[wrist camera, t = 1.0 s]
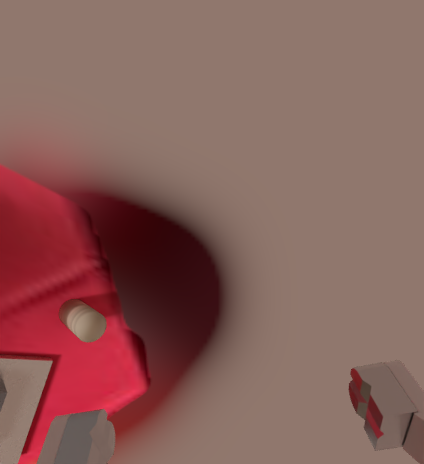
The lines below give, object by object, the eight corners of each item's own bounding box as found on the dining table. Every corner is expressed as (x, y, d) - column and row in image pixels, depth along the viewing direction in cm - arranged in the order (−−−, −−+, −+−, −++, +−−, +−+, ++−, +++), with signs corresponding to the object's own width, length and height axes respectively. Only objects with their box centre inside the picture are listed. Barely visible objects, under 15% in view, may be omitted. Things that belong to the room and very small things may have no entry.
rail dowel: (54, 323, 47) (72, 340, 41) (64, 296, 48) (82, 310, 41) (81, 326, 50) (101, 343, 43) (89, 301, 50) (110, 314, 44)
